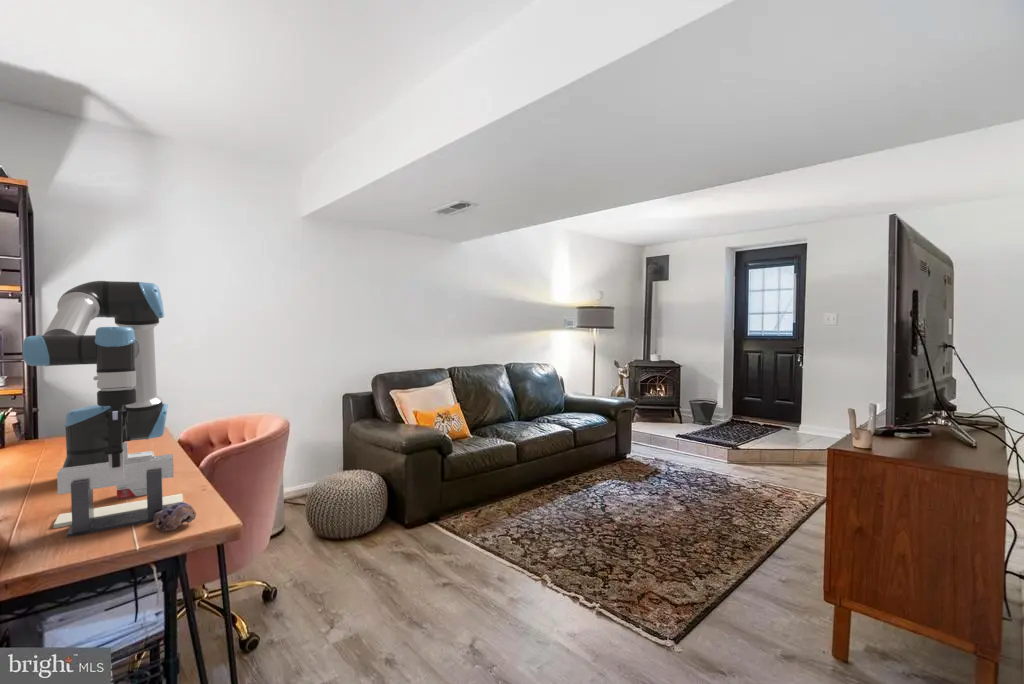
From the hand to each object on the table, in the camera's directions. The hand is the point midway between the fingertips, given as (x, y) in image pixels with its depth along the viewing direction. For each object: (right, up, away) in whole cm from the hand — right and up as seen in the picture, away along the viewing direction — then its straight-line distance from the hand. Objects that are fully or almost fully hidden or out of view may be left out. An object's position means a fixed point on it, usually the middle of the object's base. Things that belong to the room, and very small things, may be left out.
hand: (119, 473), depth 120 cm
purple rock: (+15, -13, -2) cm, 19 cm away
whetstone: (0, -2, 0) cm, 2 cm away
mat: (-5, -12, +8) cm, 15 cm away
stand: (0, -12, +1) cm, 12 cm away
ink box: (-12, -12, +21) cm, 27 cm away
